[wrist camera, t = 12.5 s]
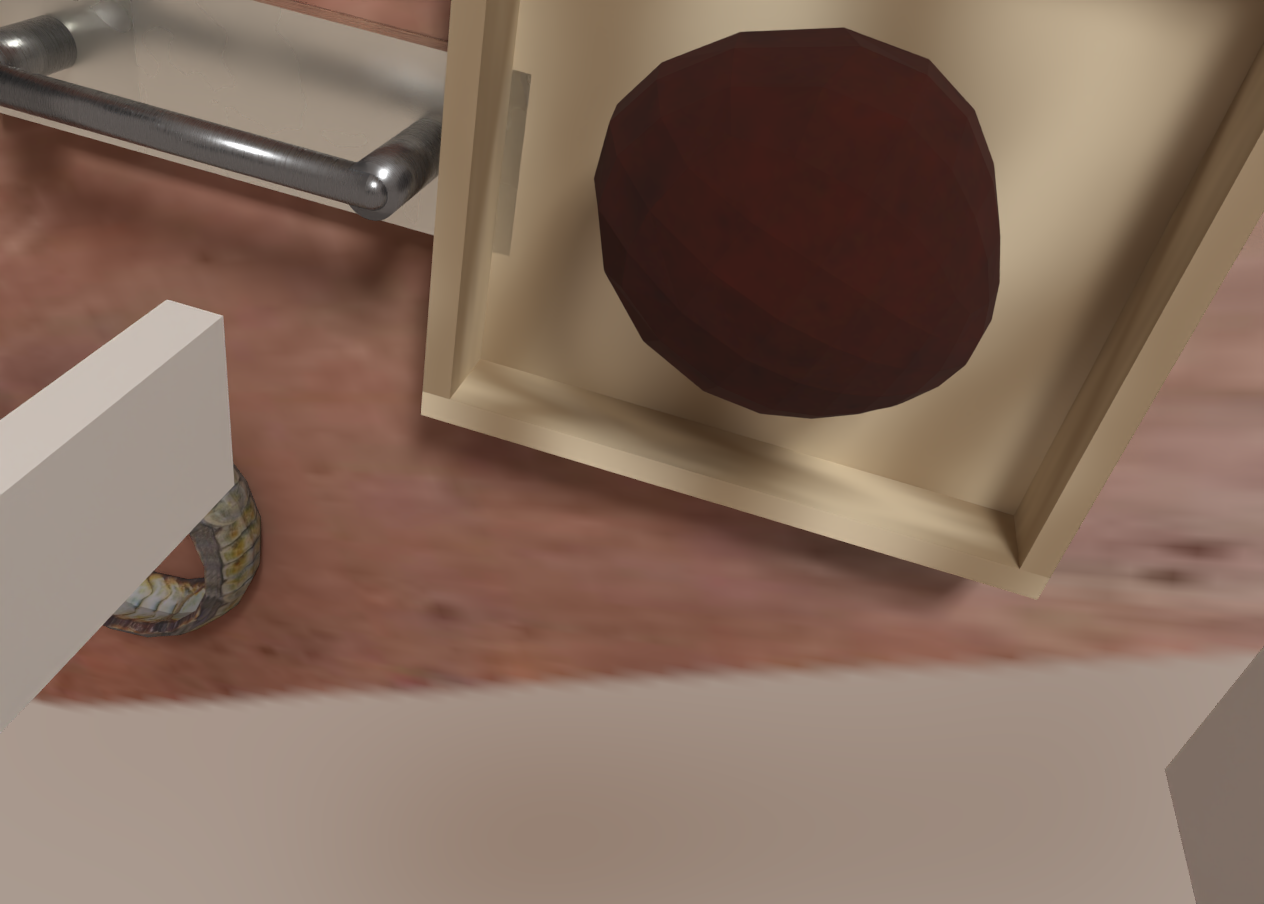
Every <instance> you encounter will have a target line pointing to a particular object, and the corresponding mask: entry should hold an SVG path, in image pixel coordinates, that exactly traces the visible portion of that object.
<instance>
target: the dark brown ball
mask: <svg viewBox="0 0 1264 904" xmlns="http://www.w3.org/2000/svg"><path fill="white" fill-rule="evenodd" d="M594 184H595V191H596V199H597V207H598V217H599V227H600V237H601V247H602V257H603V267H604V272H605V274H606V275H607V277H608V279H609V281H610V283H611V284H612V286H613V288H614V290H615V292H616V293H617V295H618V297H619V299H620V301H621V302H622V304H623V306H624V308H625V310H626V311H627V313H628V315H629V317H630V319H631V320H632V322H633V324H634V326H635V328H636V329H637V331H638V333H639V335H640V337H641V338H642V340H643V342H645V343H646V344H647V345H648V346H649V347H651V348H652V349H653V350H654V351H655V352H657V353H658V354H659V355H660V356H661V357H663V358H664V359H665V360H666V361H668V362H669V363H670V364H671V365H672V366H674V367H675V368H676V369H677V370H678V371H680V372H681V373H682V374H683V375H684V376H686V377H687V378H688V379H689V380H690V381H692V382H693V383H694V384H695V385H696V386H698V387H699V388H700V389H701V390H703V391H704V392H707V393H709V394H712V395H714V396H717V397H719V398H722V399H724V400H727V401H729V402H732V403H734V404H737V405H739V406H742V407H744V408H747V409H749V410H752V411H754V412H757V413H759V414H767V415H777V416H787V417H798V418H808V419H815V418H825V417H835V416H845V415H856V414H862V413H866V412H870V411H874V410H878V409H883V408H889V407H893V406H896V405H899V404H902V403H904V402H906V401H908V400H910V399H913V398H915V397H917V396H919V395H921V394H924V393H926V392H928V391H930V390H932V389H935V388H937V387H939V386H940V385H941V384H943V383H944V382H945V381H946V380H948V379H949V378H950V377H951V376H953V375H954V374H955V373H956V372H958V371H959V370H960V369H961V368H963V367H964V366H965V365H966V364H967V362H968V361H969V359H970V357H971V355H972V354H973V352H974V350H975V349H976V347H977V345H978V343H979V342H980V340H981V338H982V336H983V335H984V333H985V331H986V329H987V327H988V326H989V324H990V322H991V320H992V316H993V312H994V307H995V302H996V298H997V293H998V288H999V284H1000V224H999V212H998V201H997V190H996V179H995V168H994V162H993V159H992V157H991V154H990V151H989V148H988V145H987V143H986V140H985V137H984V134H983V131H982V128H981V126H980V123H979V120H978V117H977V114H976V112H975V110H974V108H973V107H972V106H971V105H970V104H969V103H968V102H967V101H966V100H965V98H964V97H963V96H962V95H961V94H960V93H959V92H958V91H957V90H956V88H955V87H954V86H953V85H952V84H951V83H950V82H949V81H948V80H947V78H946V77H945V76H944V75H943V74H942V73H941V72H940V71H939V70H938V68H937V67H936V66H935V65H934V64H933V63H932V62H931V61H930V60H929V59H927V58H925V57H922V56H919V55H917V54H914V53H911V52H909V51H906V50H903V49H901V48H898V47H895V46H893V45H890V44H887V43H884V42H882V41H879V40H876V39H874V38H871V37H868V36H866V35H863V34H860V33H858V32H855V31H852V30H850V29H847V28H844V27H841V28H818V29H794V30H770V31H747V32H738V33H736V34H733V35H731V36H728V37H726V38H723V39H720V40H718V41H715V42H713V43H710V44H708V45H705V46H702V47H700V48H697V49H695V50H692V51H689V52H687V53H684V54H682V55H679V56H677V57H674V58H671V59H669V60H666V61H664V62H662V63H661V64H659V65H658V66H657V67H656V68H655V69H654V70H653V71H652V72H651V73H650V74H649V75H648V76H647V77H646V78H644V79H643V80H642V81H641V82H640V83H639V84H638V85H637V86H636V87H635V88H634V89H633V90H632V91H631V92H629V93H628V94H627V95H626V96H625V97H624V98H623V99H622V100H621V101H620V102H619V103H618V104H617V105H616V108H615V110H614V112H613V115H612V117H611V119H610V122H609V125H608V129H607V132H606V136H605V139H604V143H603V147H602V150H601V154H600V158H599V161H598V165H597V169H596V172H595V176H594Z"/></svg>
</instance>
